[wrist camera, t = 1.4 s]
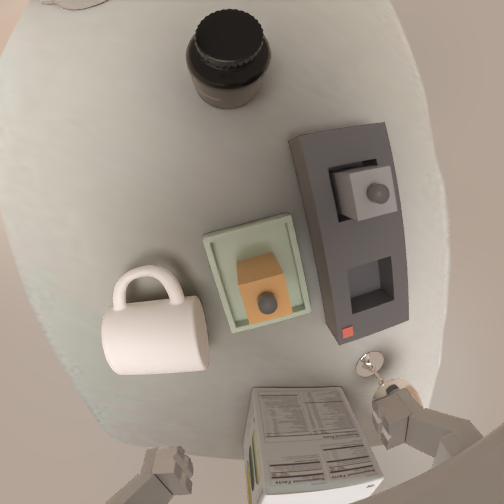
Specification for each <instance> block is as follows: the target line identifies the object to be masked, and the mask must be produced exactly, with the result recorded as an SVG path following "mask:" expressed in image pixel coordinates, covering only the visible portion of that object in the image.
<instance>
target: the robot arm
mask: <svg viewBox="0 0 504 504" xmlns="http://www.w3.org/2000/svg"><path fill="white" fill-rule="evenodd" d="M40 1H41V3H42V4H57V5H59V6H61V7H63V8H65V9H73V10H75V9H83V8H88V7H91V6H94V5H97V4H99V3H102V2H104V1H106V0H40ZM372 407H373V409H374V412H373V413H372V418H373V423H374V426H375V429H376V431H377V433H380V434H382V435H381V440H382V442H383V444H384V445H385V447H386V449H387V450H388V449H390V448H393V447H395V446H398V445H400V444H402V443H406V444H408V445H410V446H412V447H413V448H416V449H418V450H420V451H422V452H424V453H426V454H428V455H430V456H432V457H434V458H435V459H434V462H433V465H432V468H431V469H430V470H428V471H427V472H425V473H423V474H421V475H419V476H417V477H415V478H412V479H410V480H408V481H406V482H404V483H402V484H399V485H397V486H395V487H393V488H390V489H388V490H385V491H383V492H380V493H378V494H375V495H373V496H370V497H367V498H364V499H362V500H359V501H356V502H353V503H350V504H504V423H503V424H501V425H500V426H498V427H497V428H496V429H495V430H493V431H492V432H490V433H489V434H488V435H486V436H485V437H483V436H482V435H481V433H480V432H479V431H478V430H477V429H476V427H474V425H473V424H472V423H471V422H470V421H469V420H465V419H462V418H458V417H454V416H451V415H448V414H444V413H441V412H437V411H434V410H431V409H427V408H425V409H423V408H422V407H421V406H420V405H419V403H418V402H417V401H416V399H415V398H414V397H413V396H412V394H411V393H410V392H409V391H408V389H407V388H402V389H400V390H398V391H395V392H393V393H390V394H388V395H386V396H383V397H381V398H378V399H376V400H373V402H372ZM184 452H185V450H184V449H183V448H182V446H171V447H149V448H148V449H147V451H146V454H145V458H144V462H143V465H142V469H141V473H140V474H137V475H136V476H135V477H134V478H133V479H132V480H131V481H129V482H128V483H127V484H126V485H125V486H124V487H123V488H122V489H121V490H119V491H118V492H117V493H116V494H115V495H114V496H113V497H111V498H110V499H109V500H108V501H107V502H106V504H168V503H169V501H170V500H171V499H172V497H173V495H185V494H191V490H192V482H191V480H190V478H191V477H192V476H193V465H192V462H191V459H190V458H189V457H188V456H187V455H185V454H184Z"/></svg>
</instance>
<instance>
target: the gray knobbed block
mask: <svg viewBox="0 0 504 504" xmlns="http://www.w3.org/2000/svg"><path fill="white" fill-rule="evenodd" d="M329 177H330V182H331V186H332V191H333V196H334V201H335V206H336V211H337V213H340V214H342V215H345V216H347V217H349V218H352V219H354V220H357V221H361V220H365V219H368V218H372V217H376V216H380V215H384V214H388V213H391V212H395V211H397V204H396V197H395V191H394V185H393V179H392V173H391V168H390V166H353V167H349V168H344V169H339V170H334V171H329Z"/></svg>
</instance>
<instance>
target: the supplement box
mask: <svg viewBox="0 0 504 504" xmlns="http://www.w3.org/2000/svg"><path fill="white" fill-rule="evenodd" d="M243 449H244V461H245V473H246V486H247V498H248V504H350V503H353V502H356V501H359V500H362V499H364V498H367V497H369V496H370V495H371V494H372V493H373V492H374V490H375V489H376V488H377V487H378V485H379V484H380V483H381V482H382V480H383V479H384V476H383V474H382V472H381V469H380V467H379V465H378V463H377V461H376V459H375V456H374V454H373V452H372V450H371V448H370V446H369V444H368V442H367V440H366V438H365V435H364V433H363V431H362V429H361V427H360V425H359V423H358V421H357V419H356V417H355V415H354V413H353V410H352V408H351V406H350V404H349V402H348V400H347V398H346V396H345V394H344V392H343V390H342V388H341V387H321V388H258V387H254V388H253V389H252V394H251V400H250V405H249V411H248V417H247V423H246V428H245V434H244V440H243Z"/></svg>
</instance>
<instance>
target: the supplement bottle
mask: <svg viewBox="0 0 504 504" xmlns="http://www.w3.org/2000/svg"><path fill="white" fill-rule="evenodd" d="M195 32H196V33H195V34H194V36H193V37H192V38H191V40H190V42H189V44H188V47H187V51H186V61H187V66H188V69H189V72H190V74H191V77H192V80H193V83H194V85H195V88H196V90H197V92H198V94H199V96H200V97H201V98H202V99H203V100H204V101H205V102H206V103H208V104H210V105H212V106H214V107H217V108H222V109H231V108H236V107H239V106H242V105H244V104H246V103H247V102H248V101H250V100H251V99H252V98H253V97H254V95H255V94H256V93H257V91H258V89H259V87H260V84H261V82H262V80H263V78H264V75H265V73H266V71H267V69H268V66H269V63H270V58H271V51H270V46H269V43H268V41H267V39H266V37H265V36H264V34H263V29H262V28H261V24H259V23H258V20H256V19H255V18H254V16H251V15H250V14H249V13H245V12H244V11H239V10H237V9H234V10H232V9H227V10H221V11H216V12H215V13H211V14H210V15H209V16H206V17H205V18H204V19H203V20H202V21H201V23H200V24H199V25H198V28H197V29H196V31H195Z"/></svg>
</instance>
